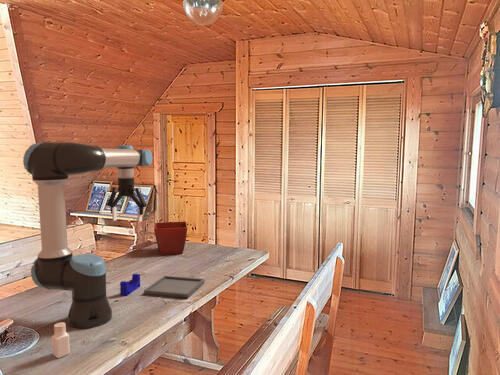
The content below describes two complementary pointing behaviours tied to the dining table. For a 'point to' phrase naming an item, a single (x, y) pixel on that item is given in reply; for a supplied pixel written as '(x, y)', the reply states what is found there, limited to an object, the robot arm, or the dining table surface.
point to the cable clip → (130, 285)
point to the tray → (174, 287)
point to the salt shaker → (60, 341)
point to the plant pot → (170, 237)
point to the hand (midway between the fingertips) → (127, 221)
